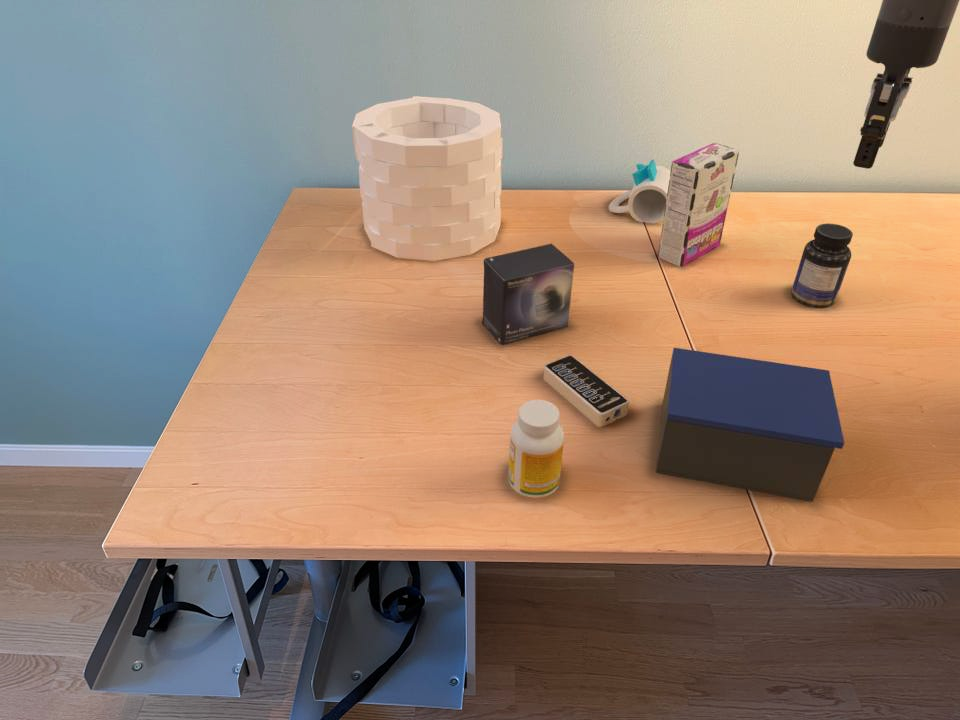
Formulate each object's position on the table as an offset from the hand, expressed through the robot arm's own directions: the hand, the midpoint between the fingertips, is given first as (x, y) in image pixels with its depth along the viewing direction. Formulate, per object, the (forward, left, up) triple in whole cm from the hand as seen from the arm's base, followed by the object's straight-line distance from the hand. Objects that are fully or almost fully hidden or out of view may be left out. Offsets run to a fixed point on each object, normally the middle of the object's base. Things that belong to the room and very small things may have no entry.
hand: (867, 156), depth 89 cm
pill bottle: (+1, 0, -22) cm, 22 cm away
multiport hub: (+30, +31, -22) cm, 48 cm away
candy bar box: (+19, -10, -22) cm, 30 cm away
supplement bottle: (+33, +46, -22) cm, 61 cm away
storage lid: (+13, +36, -14) cm, 41 cm away
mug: (+28, -25, -22) cm, 43 cm away
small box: (+40, +18, -22) cm, 49 cm away
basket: (+62, -8, -22) cm, 66 cm away
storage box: (+13, +36, -22) cm, 44 cm away
